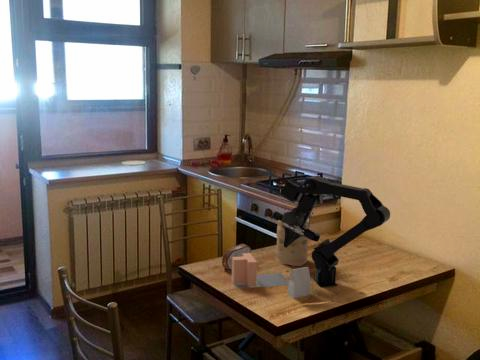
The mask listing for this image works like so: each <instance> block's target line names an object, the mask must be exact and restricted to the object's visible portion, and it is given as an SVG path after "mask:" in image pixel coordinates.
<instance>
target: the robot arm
mask: <svg viewBox="0 0 480 360" xmlns="http://www.w3.org/2000/svg"><path fill="white" fill-rule="evenodd" d="M322 195H331V196H337V197H340V198H344V199H351V200H356V201H358V202H359V203H360V205H361V207H362V210H363V211H364V213H365V216H363V218H362V219H361V220H360V222H358V223H357V224H355V225H354V226H353V227H351V228H350V229H348V230H347V231H345V232H344V233H342V234H341V235H340V236H338V237H337V238H336V239H334V240H330V239H329V238H327V239H325V240H323V241H322V242H320V244H318V245H316V246H315V247H313V250H312V252H311V259H312V261H313V263H314V267H315V269H316V270H315V271H314V279H313V280H314V282H315V283H316V284H317V285H318V286H319V287H320V288H324V287H325V288H326V287H337V286H338V283H337V282H336V277H337V276H336V275H337V267H336V266H337V265H338V263H339V262H340V260H339V258H338V257H337V256H336V254H337V253H338V252H339V250H340V249H341V248H343V247H345V246H346V245H348V244H349V243H351V242H352V241H354V240H355V239H357V237H360V236H361V235H362V234H364V233H365V232H367V231H370V230H373V229H375V228H377V227H380V226H382V225H384V223H386V222H388V221H389V220H390V218H391V211H390V209H389V208H388V207H387V206H385V205H384V204H383V203H382V201H381V200H380V199H379V198H377V196H375V195H374V193H373V192H372V191H371V190H370V189H369V188H367V187H364V188H363V187H358V186H353V185H347V184H342V183H337V182H333V181H331V180H329V179H328V178H325V177H322V176H320V175H314V176H312V177H308V178H306V179H305V180H304V182H303V184H301V185H299V184H296V183H295V182H293V181H292V180H287V181H286V183H285V184H284V185H283V187H282V188H281V189H280V192H279V196H280V197H281V198H283V199H285V200H287V201H288V202H291V203H292V204H296V203H297V204H296V207H293V208H292V210H291V211H287V212H284V213H282V212H279V211H274V212H272V214H271V217H270V218H272V219H273V220H275V221H278V220H280V221H282V222H283V223H284V225H282V226H283V227H284V229H285V239H284V247H285V248H287V247H288V246H289V245H290V244H291V243H293V242H294V241H295V240H296V239H298V238H299V237H301V236H303V237H304V236H305V237H307V238H308V240H310V241H313V242H319V240H320V238H321V234H320V233H319V232H316V231H314V229H313V230H312V229H310V228H309V229H305V227H306V225H305V224H306V222H307V220H308V218H309V219H310V218H311V217H312V215H311V214H312V212H313V211H314V208H315V207H316V204H317V203H319V204H323V203H324V201H323V198H322ZM298 226H299V227H298ZM293 228H295V230H294V229H293Z"/></svg>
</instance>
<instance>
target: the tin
mask: <svg viewBox="0 0 480 360" xmlns="http://www.w3.org/2000/svg"><path fill="white" fill-rule="evenodd" d="M242 253H251V254H252V248H251V247H250V246H249V245H247V244H245V243H240V244H238V245H235V246H231V247H229V248H228V249H227V250H225V252H224V254H223V255H222V259H221V264H222V267H223V268H224V269H227V270H229V271H232V257H242Z"/></svg>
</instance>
